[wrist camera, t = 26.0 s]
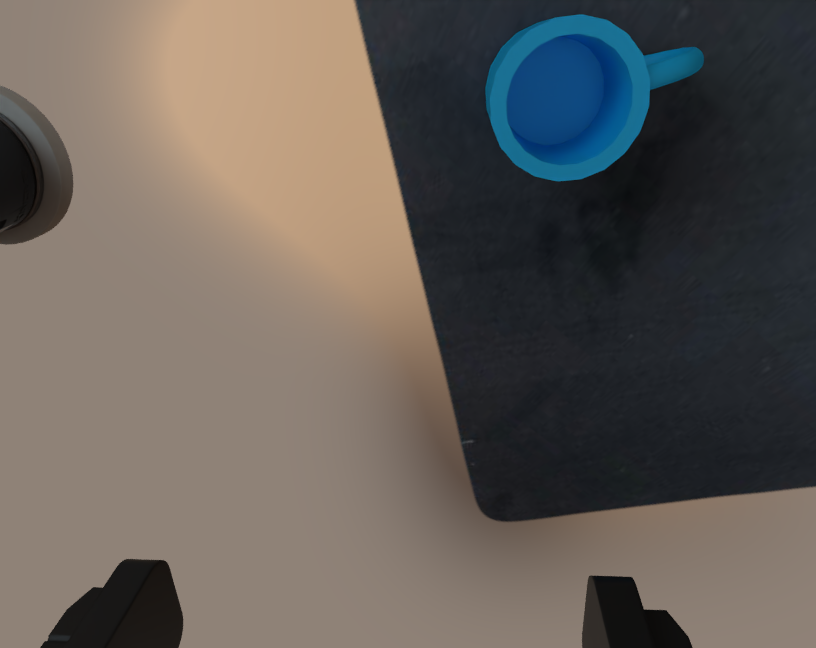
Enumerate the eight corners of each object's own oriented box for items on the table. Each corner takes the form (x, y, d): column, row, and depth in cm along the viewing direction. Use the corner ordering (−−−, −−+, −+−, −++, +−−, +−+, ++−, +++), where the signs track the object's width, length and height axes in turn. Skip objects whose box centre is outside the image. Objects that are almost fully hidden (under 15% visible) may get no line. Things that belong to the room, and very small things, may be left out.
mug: (499, 169, 41) (507, 197, 34) (472, 42, 38) (473, 42, 31) (684, 121, 39) (735, 140, 32) (671, -19, 36) (724, -34, 29)
